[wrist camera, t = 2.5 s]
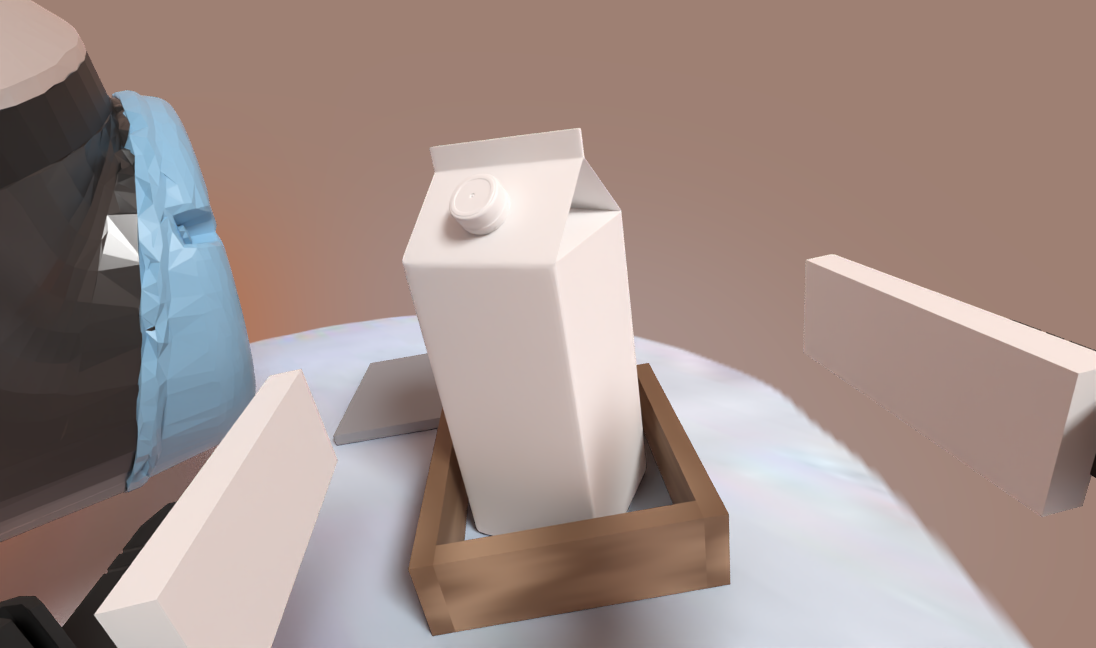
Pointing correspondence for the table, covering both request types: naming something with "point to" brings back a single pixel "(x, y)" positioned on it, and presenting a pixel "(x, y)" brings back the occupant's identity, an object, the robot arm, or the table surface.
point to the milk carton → (529, 330)
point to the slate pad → (392, 401)
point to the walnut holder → (571, 541)
